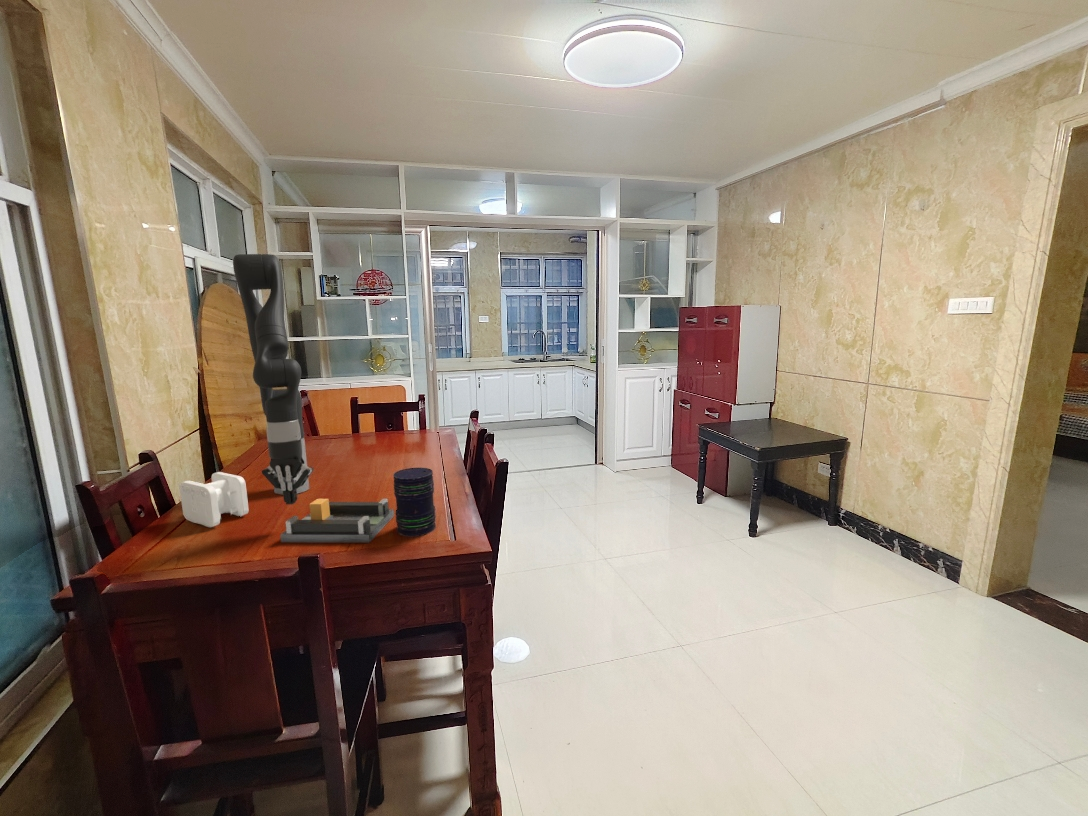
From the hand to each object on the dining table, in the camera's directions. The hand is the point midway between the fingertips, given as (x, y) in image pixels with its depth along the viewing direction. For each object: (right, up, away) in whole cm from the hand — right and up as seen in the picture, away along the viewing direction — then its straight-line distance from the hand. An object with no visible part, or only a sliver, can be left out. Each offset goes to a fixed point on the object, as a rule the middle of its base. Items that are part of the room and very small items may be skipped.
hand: (291, 503), depth 125 cm
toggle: (+7, -5, +1) cm, 9 cm away
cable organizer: (-25, -6, +9) cm, 27 cm away
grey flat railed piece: (+13, -7, +1) cm, 14 cm away
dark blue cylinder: (+33, -7, 0) cm, 33 cm away
